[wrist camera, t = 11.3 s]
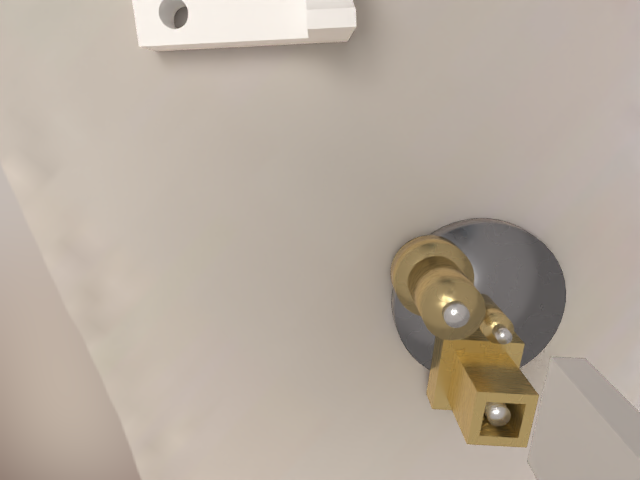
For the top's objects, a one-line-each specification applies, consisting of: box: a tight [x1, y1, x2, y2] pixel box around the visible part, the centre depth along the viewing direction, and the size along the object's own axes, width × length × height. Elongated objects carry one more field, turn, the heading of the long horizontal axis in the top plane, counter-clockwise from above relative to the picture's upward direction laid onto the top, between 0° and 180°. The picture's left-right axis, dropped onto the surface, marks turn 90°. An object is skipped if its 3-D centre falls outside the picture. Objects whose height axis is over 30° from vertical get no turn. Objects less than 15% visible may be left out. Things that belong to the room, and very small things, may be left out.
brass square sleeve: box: [426, 329, 539, 447], centre depth 35 cm, size 6×6×7 cm
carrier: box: [390, 218, 566, 426], centre depth 34 cm, size 13×14×9 cm
